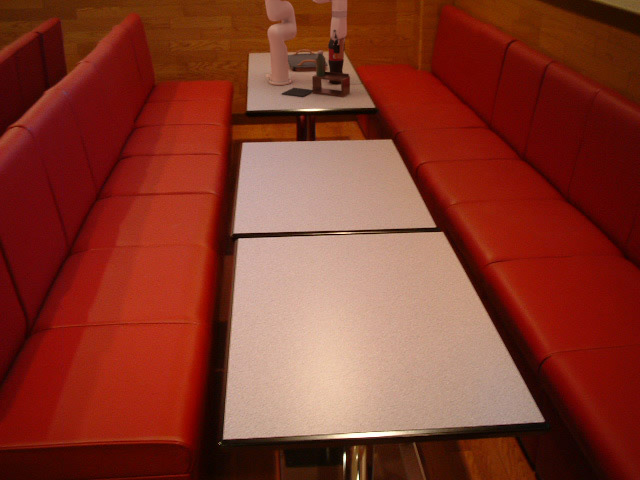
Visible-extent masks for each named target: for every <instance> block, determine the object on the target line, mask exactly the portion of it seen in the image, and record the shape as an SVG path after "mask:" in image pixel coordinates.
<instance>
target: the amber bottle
mask: <svg viewBox="0 0 640 480" xmlns="http://www.w3.org/2000/svg"><path fill="white" fill-rule="evenodd" d="M336 38H337V37H336ZM337 39H338V38H337ZM337 41H338V40H337ZM339 45H340V53H334V58H337V59H341V58H343V59H344V58H345V50H344V39H343V38H341V39H340V40H339Z"/></svg>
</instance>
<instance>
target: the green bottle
mask: <svg viewBox="0 0 640 480" xmlns="http://www.w3.org/2000/svg"><path fill="white" fill-rule="evenodd" d="M317 54H318V56H317V57H316V67H315V75H316V76H325V71H326V69H325V67H326V66H325V61H326V57H325V55H324V50H317Z"/></svg>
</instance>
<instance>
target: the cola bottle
mask: <svg viewBox="0 0 640 480" xmlns="http://www.w3.org/2000/svg"><path fill="white" fill-rule="evenodd" d="M327 48H328V59H327V61H328V67H329V72H336V73H344V72H343V68H344V58H341V59H337V58H334V45H333V41H332V38H331V37H330V40H329V41H328V45H327ZM328 81H329V83H330V84H332V85H341V81H332V80H328Z"/></svg>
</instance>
